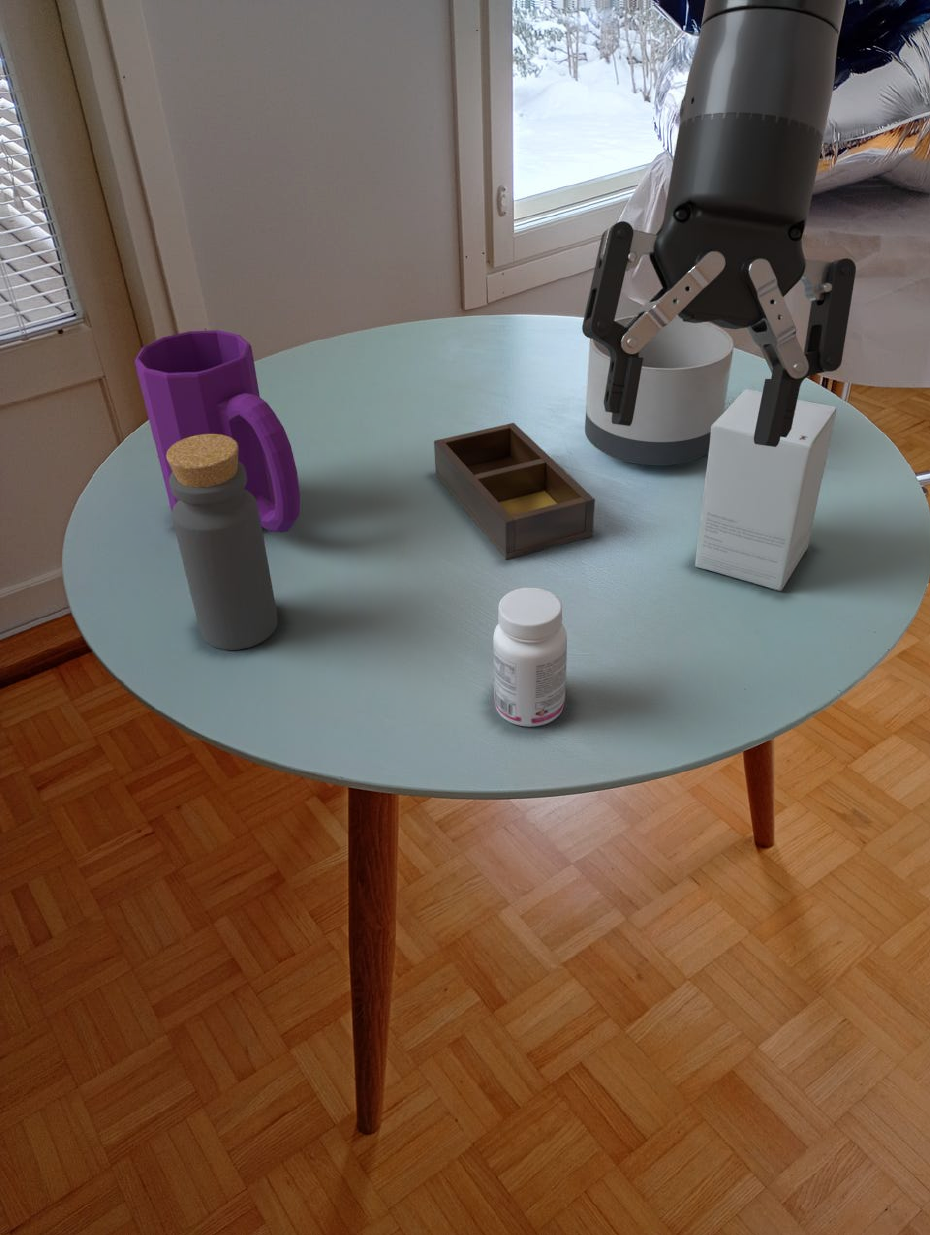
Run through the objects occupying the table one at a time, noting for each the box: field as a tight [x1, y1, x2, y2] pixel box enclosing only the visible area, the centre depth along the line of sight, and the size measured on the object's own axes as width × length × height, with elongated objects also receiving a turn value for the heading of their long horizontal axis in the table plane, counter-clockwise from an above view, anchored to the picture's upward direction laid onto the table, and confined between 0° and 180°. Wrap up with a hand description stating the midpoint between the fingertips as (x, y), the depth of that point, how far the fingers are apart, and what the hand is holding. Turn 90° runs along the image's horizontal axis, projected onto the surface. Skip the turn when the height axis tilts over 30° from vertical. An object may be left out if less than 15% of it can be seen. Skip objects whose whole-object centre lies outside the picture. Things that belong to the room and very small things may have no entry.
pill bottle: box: [492, 587, 568, 728], centre depth 64 cm, size 5×5×8 cm
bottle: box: [166, 434, 279, 651], centre depth 70 cm, size 6×6×15 cm
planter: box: [584, 315, 735, 466], centre depth 92 cm, size 13×13×10 cm
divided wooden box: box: [433, 422, 596, 560], centre depth 86 cm, size 8×15×4 cm, turn 23°
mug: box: [134, 329, 301, 533], centre depth 81 cm, size 9×16×15 cm, turn 47°
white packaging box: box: [694, 388, 838, 592], centre depth 76 cm, size 7×7×13 cm
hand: (694, 435), depth 56 cm, fingers open, 8 cm apart
